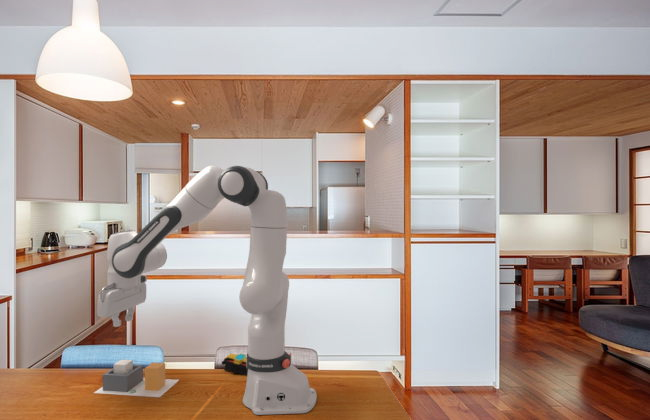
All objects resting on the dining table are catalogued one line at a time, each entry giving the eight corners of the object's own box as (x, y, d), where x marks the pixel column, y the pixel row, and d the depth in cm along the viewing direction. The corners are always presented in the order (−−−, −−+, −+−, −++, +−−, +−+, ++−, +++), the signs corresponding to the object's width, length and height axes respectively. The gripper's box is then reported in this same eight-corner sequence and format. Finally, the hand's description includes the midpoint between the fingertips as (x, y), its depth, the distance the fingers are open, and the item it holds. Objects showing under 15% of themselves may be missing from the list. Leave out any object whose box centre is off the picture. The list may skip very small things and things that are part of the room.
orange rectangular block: (165, 384, 128) (165, 363, 128) (157, 390, 124) (157, 368, 123) (152, 383, 128) (152, 362, 128) (144, 390, 124) (144, 367, 124)
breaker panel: (179, 382, 131) (179, 365, 131) (159, 400, 119) (159, 380, 119) (118, 379, 134) (118, 361, 134) (93, 396, 122) (93, 376, 122)
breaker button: (132, 370, 129) (132, 360, 129) (125, 375, 125) (125, 365, 125) (121, 370, 130) (121, 359, 130) (113, 375, 126) (113, 364, 126)
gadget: (254, 380, 136) (257, 365, 135) (219, 371, 138) (222, 356, 138) (261, 373, 142) (263, 358, 142) (228, 364, 145) (230, 349, 144)
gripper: (110, 287, 116) (110, 334, 116) (149, 275, 137) (150, 315, 137) (91, 287, 117) (91, 333, 117) (133, 275, 137) (133, 314, 138)
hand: (123, 323), depth 127 cm, fingers open, 5 cm apart
